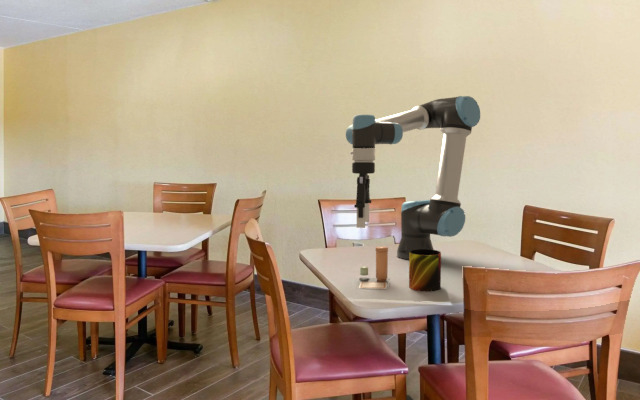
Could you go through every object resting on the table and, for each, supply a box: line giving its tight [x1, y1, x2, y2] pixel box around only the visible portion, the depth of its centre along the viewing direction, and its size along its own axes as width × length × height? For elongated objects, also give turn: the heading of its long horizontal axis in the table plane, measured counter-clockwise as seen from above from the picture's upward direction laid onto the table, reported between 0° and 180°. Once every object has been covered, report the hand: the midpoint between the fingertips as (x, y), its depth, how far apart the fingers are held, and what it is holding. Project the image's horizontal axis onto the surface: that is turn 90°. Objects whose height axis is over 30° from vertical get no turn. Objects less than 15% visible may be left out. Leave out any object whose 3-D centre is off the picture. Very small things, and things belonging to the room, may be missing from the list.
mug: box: [408, 249, 442, 293], centre depth 154 cm, size 10×14×12 cm
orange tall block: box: [375, 246, 389, 282], centre depth 160 cm, size 4×4×11 cm
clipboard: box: [356, 277, 390, 291], centre depth 158 cm, size 10×14×1 cm
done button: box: [359, 265, 369, 276], centre depth 162 cm, size 3×3×2 cm
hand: (363, 224), depth 165 cm, fingers open, 13 cm apart
